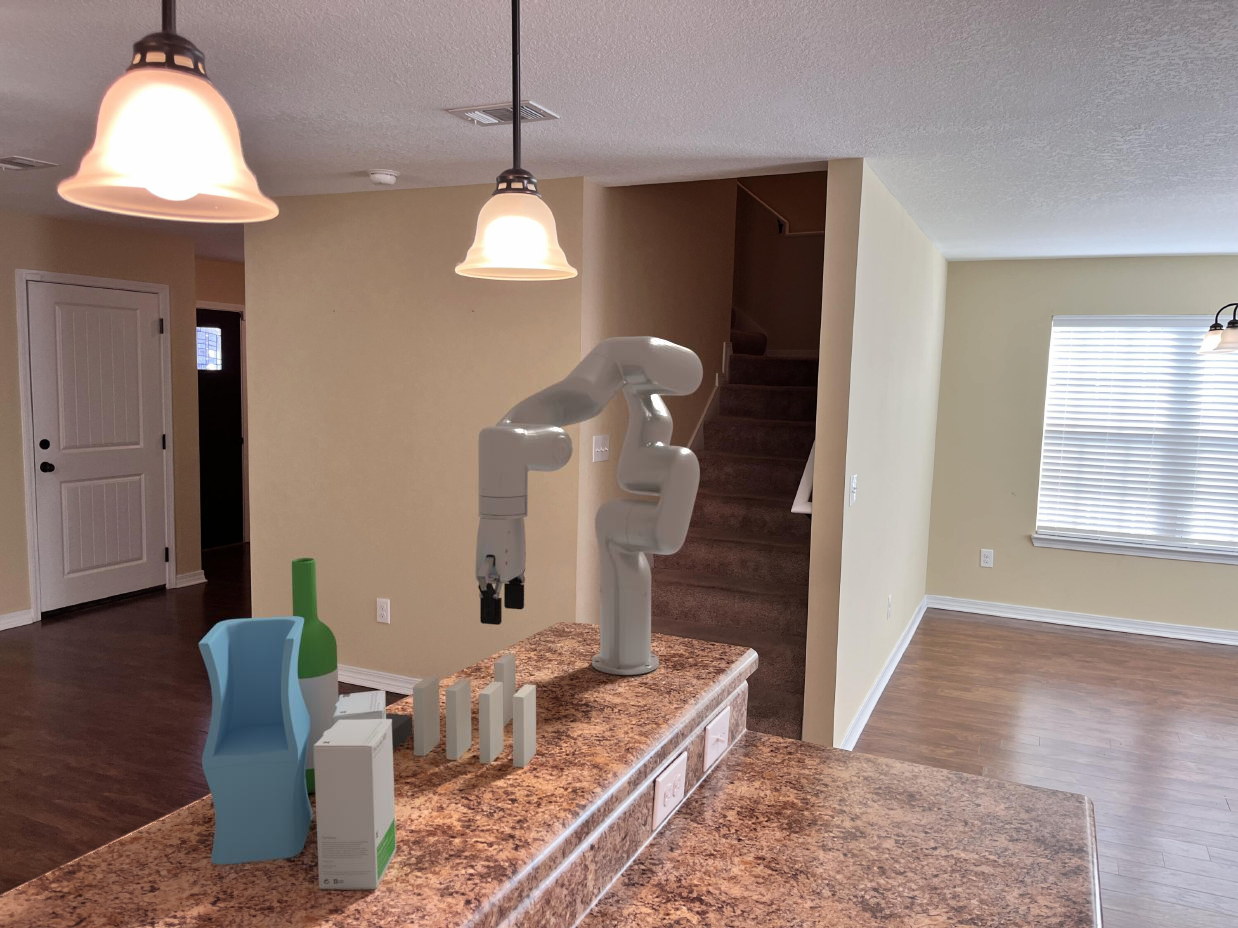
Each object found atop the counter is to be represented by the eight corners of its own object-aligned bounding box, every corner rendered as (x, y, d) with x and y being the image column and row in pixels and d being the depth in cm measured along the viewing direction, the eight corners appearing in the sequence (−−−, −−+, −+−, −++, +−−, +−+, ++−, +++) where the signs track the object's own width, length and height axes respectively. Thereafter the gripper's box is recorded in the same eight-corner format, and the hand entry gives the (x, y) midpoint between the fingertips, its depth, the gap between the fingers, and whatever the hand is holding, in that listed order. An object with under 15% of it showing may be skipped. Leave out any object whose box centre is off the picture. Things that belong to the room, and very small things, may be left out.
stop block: (388, 732, 133) (388, 712, 133) (412, 734, 132) (412, 715, 132) (360, 753, 125) (360, 733, 125) (386, 756, 124) (385, 735, 124)
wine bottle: (337, 793, 113) (331, 564, 110) (273, 799, 111) (265, 567, 109) (343, 767, 121) (338, 553, 118) (284, 772, 119) (277, 555, 116)
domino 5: (513, 766, 121) (512, 696, 120) (525, 751, 126) (525, 684, 125) (524, 767, 121) (523, 697, 120) (536, 752, 126) (535, 685, 125)
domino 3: (479, 762, 122) (478, 692, 122) (493, 748, 127) (492, 681, 126) (490, 763, 122) (489, 693, 121) (503, 749, 127) (502, 682, 126)
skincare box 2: (376, 891, 91) (372, 747, 90) (313, 890, 91) (308, 746, 90) (398, 849, 100) (395, 716, 98) (340, 848, 100) (336, 715, 98)
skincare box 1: (388, 834, 103) (386, 711, 102) (334, 839, 102) (331, 715, 100) (390, 801, 111) (388, 687, 110) (340, 806, 110) (337, 690, 108)
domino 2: (446, 758, 124) (445, 689, 123) (461, 744, 128) (460, 678, 128) (457, 759, 123) (456, 690, 122) (471, 745, 128) (470, 679, 127)
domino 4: (494, 725, 136) (494, 662, 135) (506, 713, 141) (505, 652, 140) (504, 726, 135) (503, 663, 134) (515, 714, 140) (515, 653, 139)
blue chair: (206, 866, 96) (197, 643, 94) (227, 822, 105) (219, 619, 103) (301, 856, 98) (294, 638, 96) (313, 814, 108) (307, 615, 105)
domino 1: (414, 754, 125) (412, 686, 124) (430, 741, 130) (428, 675, 129) (424, 756, 124) (423, 687, 124) (439, 742, 129) (438, 676, 128)
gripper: (501, 499, 144) (500, 601, 145) (456, 512, 127) (457, 628, 129) (544, 501, 142) (543, 604, 144) (505, 514, 126) (505, 632, 127)
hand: (503, 615), depth 136 cm, fingers open, 9 cm apart
